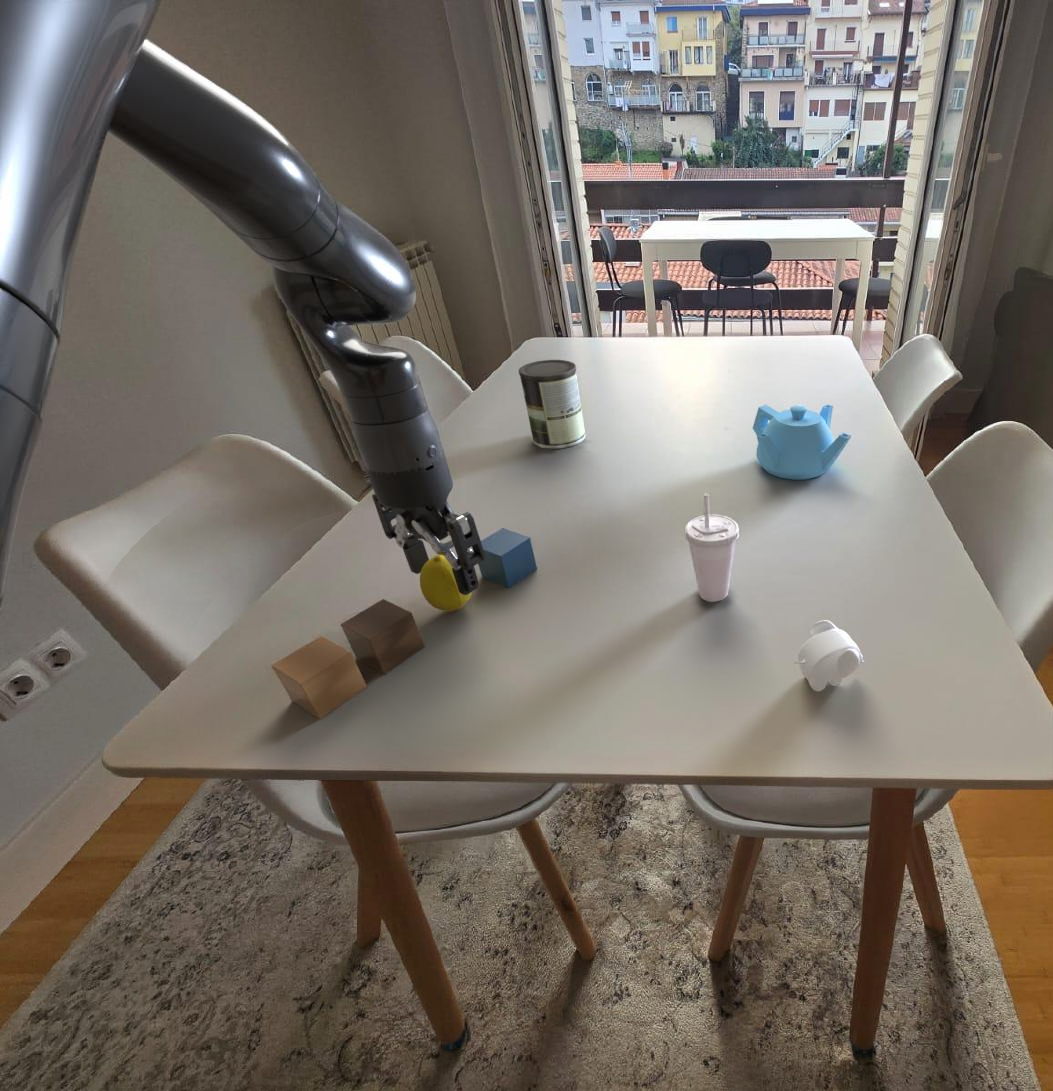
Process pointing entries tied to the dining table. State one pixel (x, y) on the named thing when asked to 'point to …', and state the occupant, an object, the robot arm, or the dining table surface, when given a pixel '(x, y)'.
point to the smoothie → (712, 552)
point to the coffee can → (553, 403)
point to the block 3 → (507, 557)
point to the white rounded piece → (828, 655)
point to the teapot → (796, 442)
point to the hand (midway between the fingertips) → (445, 580)
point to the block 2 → (383, 636)
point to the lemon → (441, 585)
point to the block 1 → (320, 676)
